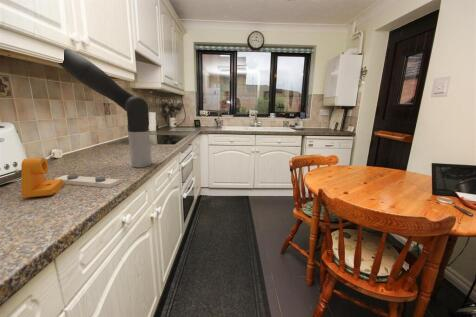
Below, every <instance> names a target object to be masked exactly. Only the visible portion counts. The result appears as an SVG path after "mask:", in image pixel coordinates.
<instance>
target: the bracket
mask: <svg viewBox="0 0 476 317" xmlns="http://www.w3.org/2000/svg"><path fill="white" fill-rule="evenodd" d="M20 167H21V170H20V171H21V179H20V180H21V195H22V196H21V197H22V198H24V199H25V198H34V197H44V196H51V195H56V194H57V193H59V191H61V190H62V189H63V185H64V184H63V180H62V179H56V180H53V179H49V180H48V179H46V177H45V174H47V173H48V172H49V163H48V160H47V158H45V157H35V158H24V159H22V161H21V166H20Z"/></svg>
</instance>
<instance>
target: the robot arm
mask: <svg viewBox="0 0 476 317" xmlns="http://www.w3.org/2000/svg"><path fill="white" fill-rule="evenodd" d="M57 64H58V65H59V66H60V67H62V68H63V69H64V71H65V72H67V73H69V75H71V76H72V77H73V78H75V79H76V80H77V81H79V82H81V83H82V84H84V85H85V86H86V87H88V88H89V89H91V90H92V91H94V92H96V93H98V94H100V95H101V96H104V97H106V98H107V99H109V100H111V101H112V102H114V103H115V104H116V105H117V106H119V107H120V108H121V109H123V110H124V111H126V118H127V135H128V145H129V146H128V147H129V155H130V156H129V157H130V166H131V167H132V168H146V167H150V166H151V165H152V163H153V162H152V159H153V158H152V147H151V144H150V143H151V142H150V141H151V140H150V132H149V130H150V129H149V128H150V117H149V116H150V113H149V112H150V111H149V105H148V103H147V101H146V100H145V99H144V98H142V97H140V96H136V95H133V94H132V93H130V92H128V91H127V90H125V89H124V88H123V87H121V86H120V85H119V84H118V83H117V82H116V81H115V80H114V79H113V78H112V77H111V76H109V75H108V74H107V73H106V72H105V71H104V70H102V69H101V67H98V66H97V65H96V64H94V63H93V62H92V61H90V60H89V59H87V58H85V57H84V56H82V55H80V54H79V53H78V52H76V51H74V50H72V49H71V48H69V49H65V50H64V61H63V63H57Z"/></svg>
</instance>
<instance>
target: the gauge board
mask: <svg viewBox="0 0 476 317" xmlns="http://www.w3.org/2000/svg"><path fill="white" fill-rule="evenodd" d="M56 179H62V180H63V185H74V186H84V187H85V186H86V187H98V188H108V189H111V188H114V187H115V186H118V185H119V184H120V183H121V182H120V179H115V178H106V177H105V176H97V177H96V176H95V177H93V176H81V175H80V176H79V175H78V174H65V175H61V176H58V177H55V178H52V180H56Z"/></svg>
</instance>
